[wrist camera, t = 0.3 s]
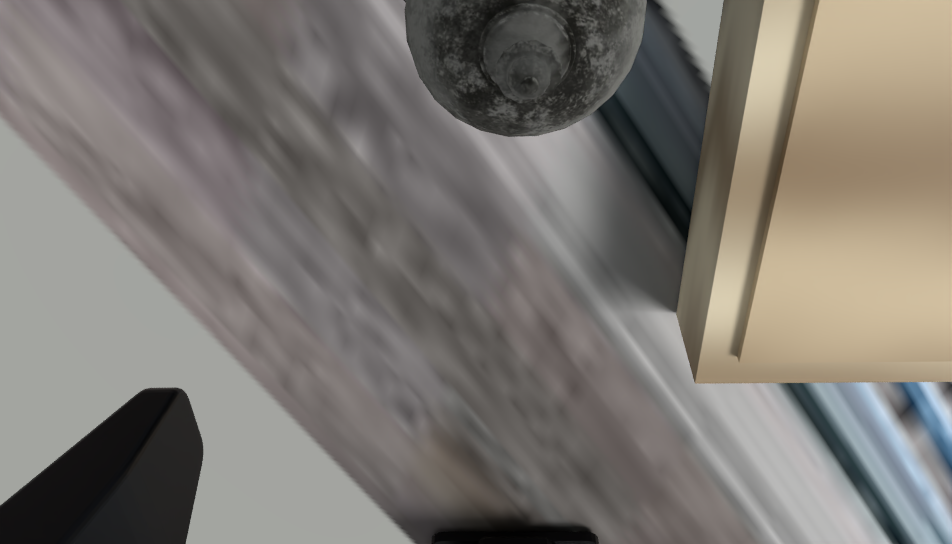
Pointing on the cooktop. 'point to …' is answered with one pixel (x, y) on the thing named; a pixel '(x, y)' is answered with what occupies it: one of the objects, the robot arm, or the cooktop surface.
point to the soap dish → (824, 196)
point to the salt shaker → (523, 58)
